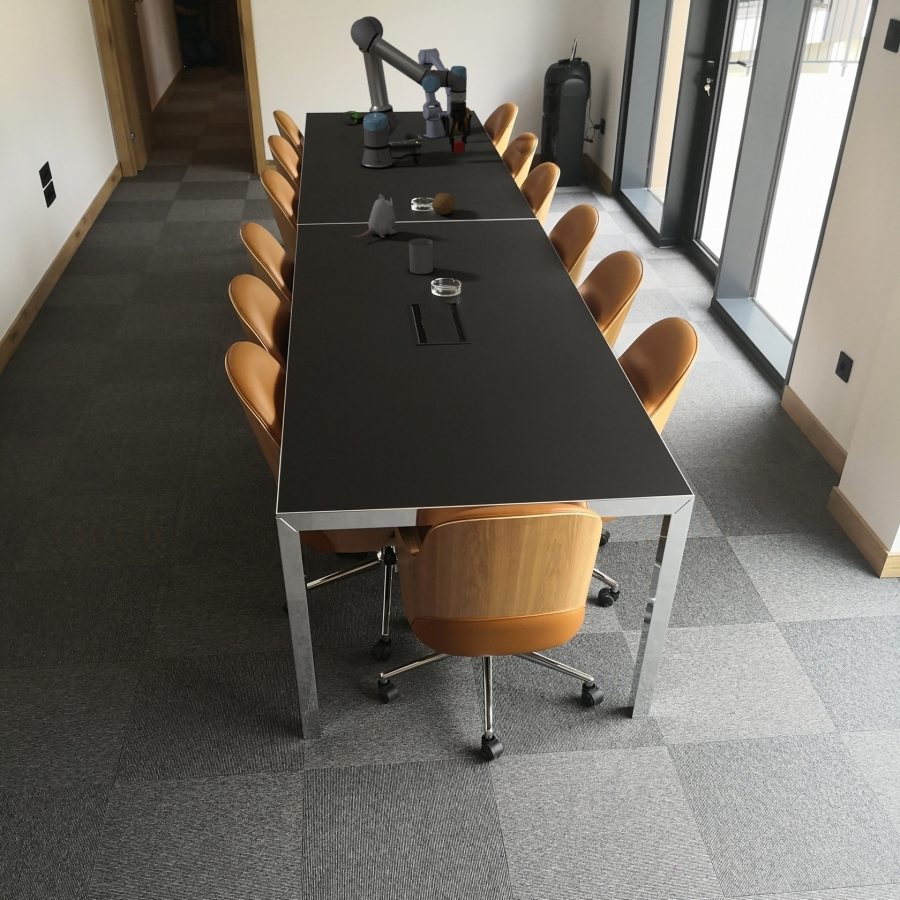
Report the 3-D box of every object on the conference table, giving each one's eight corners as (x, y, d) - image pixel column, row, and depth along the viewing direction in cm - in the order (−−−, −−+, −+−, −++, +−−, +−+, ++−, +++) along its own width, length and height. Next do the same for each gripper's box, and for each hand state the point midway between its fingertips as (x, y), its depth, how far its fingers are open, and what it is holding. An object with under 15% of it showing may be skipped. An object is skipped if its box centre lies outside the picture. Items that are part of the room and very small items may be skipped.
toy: (402, 233, 342) (401, 194, 333) (358, 248, 327) (355, 208, 319) (387, 227, 347) (385, 190, 339) (342, 242, 332) (339, 203, 324)
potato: (453, 208, 369) (453, 189, 365) (456, 218, 357) (456, 199, 353) (431, 208, 368) (430, 189, 364) (432, 218, 356) (432, 199, 352)
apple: (471, 132, 486) (471, 108, 479) (451, 132, 486) (451, 108, 479) (470, 128, 495) (471, 104, 488) (452, 128, 495) (452, 104, 488)
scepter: (393, 108, 508) (341, 106, 505) (392, 121, 500) (340, 119, 498) (392, 117, 512) (341, 115, 510) (392, 130, 505) (341, 128, 503)
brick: (451, 150, 431) (451, 140, 429) (461, 149, 433) (461, 140, 430) (454, 152, 427) (454, 143, 425) (463, 152, 429) (464, 142, 426)
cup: (409, 265, 311) (408, 238, 306) (432, 265, 312) (431, 238, 307) (410, 274, 304) (409, 246, 299) (433, 273, 305) (433, 246, 299)
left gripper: (442, 103, 412) (442, 153, 425) (478, 101, 416) (477, 151, 429) (438, 100, 418) (438, 150, 431) (473, 98, 422) (472, 147, 435)
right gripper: (441, 106, 450) (441, 133, 457) (467, 104, 454) (467, 131, 461) (437, 103, 456) (437, 130, 463) (463, 101, 459) (463, 128, 467)
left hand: (457, 150), depth 430 cm, fingers closed on brick, 5 cm apart
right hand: (452, 130), depth 463 cm, fingers open, 7 cm apart
